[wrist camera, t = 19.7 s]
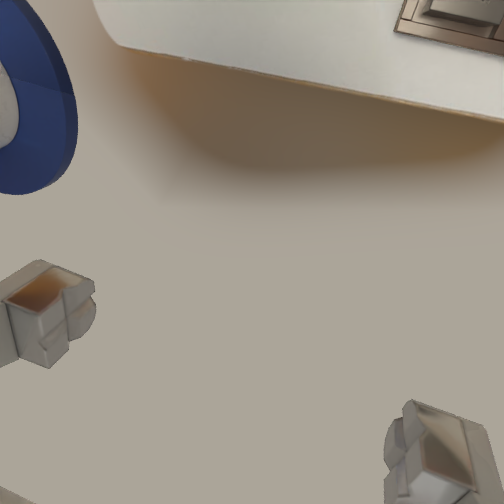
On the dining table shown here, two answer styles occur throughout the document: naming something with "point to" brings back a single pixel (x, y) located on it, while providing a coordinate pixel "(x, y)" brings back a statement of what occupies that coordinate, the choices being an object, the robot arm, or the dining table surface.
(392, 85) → the dining table surface
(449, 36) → the brown compartment tray
